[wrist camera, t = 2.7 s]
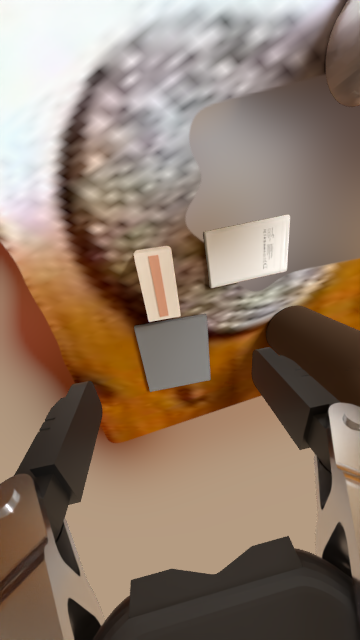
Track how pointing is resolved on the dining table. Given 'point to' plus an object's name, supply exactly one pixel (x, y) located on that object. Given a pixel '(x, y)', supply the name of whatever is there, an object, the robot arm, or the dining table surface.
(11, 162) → the dining table surface
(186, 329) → the mat
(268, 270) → the external hard drive
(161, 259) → the block
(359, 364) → the olive oil
